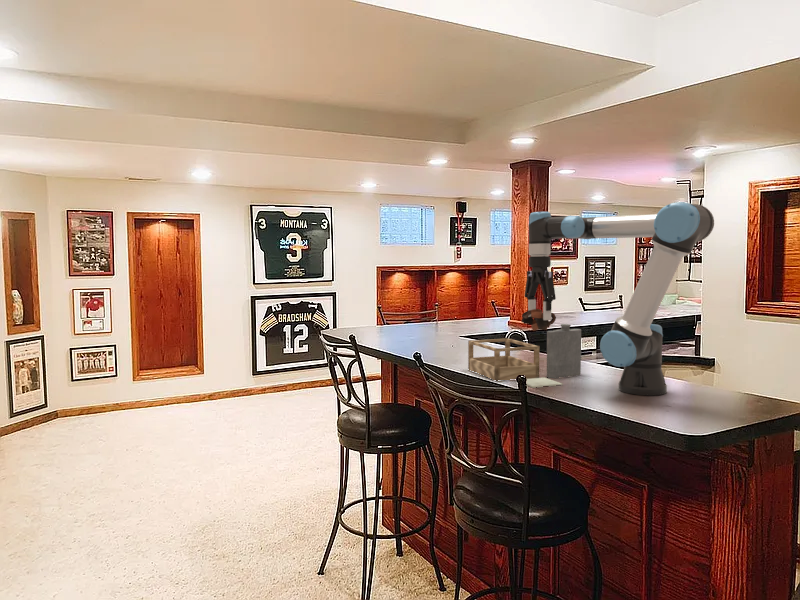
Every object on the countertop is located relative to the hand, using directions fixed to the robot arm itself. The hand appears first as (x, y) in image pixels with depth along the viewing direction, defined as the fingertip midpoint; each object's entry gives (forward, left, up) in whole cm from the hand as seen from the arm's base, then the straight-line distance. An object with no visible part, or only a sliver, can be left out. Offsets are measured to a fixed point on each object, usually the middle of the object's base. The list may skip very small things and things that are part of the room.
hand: (539, 318), depth 220 cm
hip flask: (+8, -16, -24) cm, 30 cm away
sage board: (0, 0, -23) cm, 23 cm away
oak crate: (+20, +4, -23) cm, 31 cm away
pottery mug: (-1, +1, -4) cm, 4 cm away
